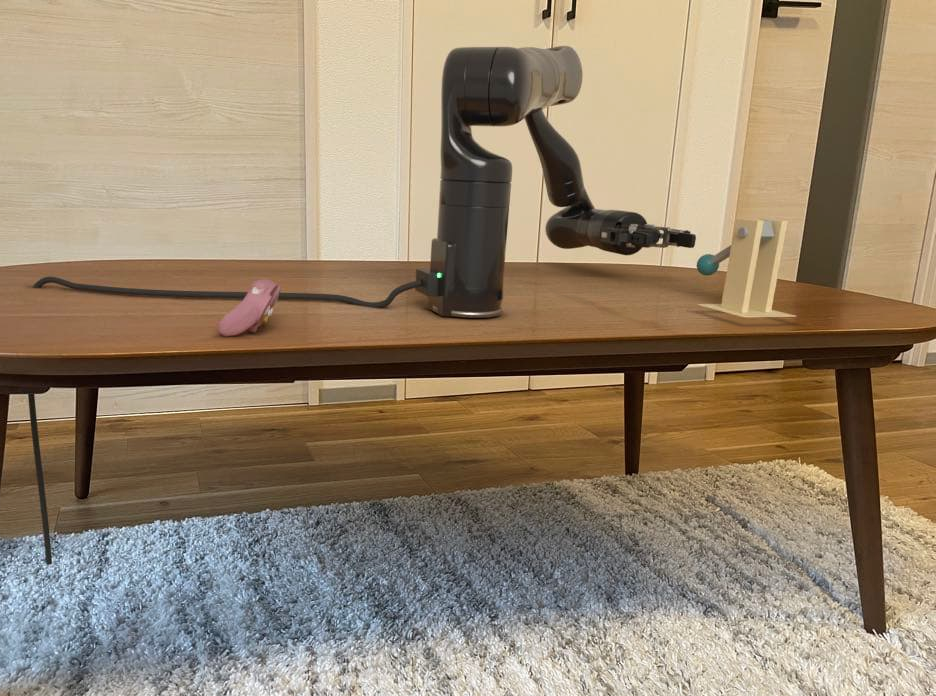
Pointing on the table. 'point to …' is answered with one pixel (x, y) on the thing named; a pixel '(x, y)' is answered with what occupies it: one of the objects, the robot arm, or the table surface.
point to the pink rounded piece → (251, 309)
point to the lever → (728, 252)
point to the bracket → (752, 270)
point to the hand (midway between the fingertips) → (671, 241)
